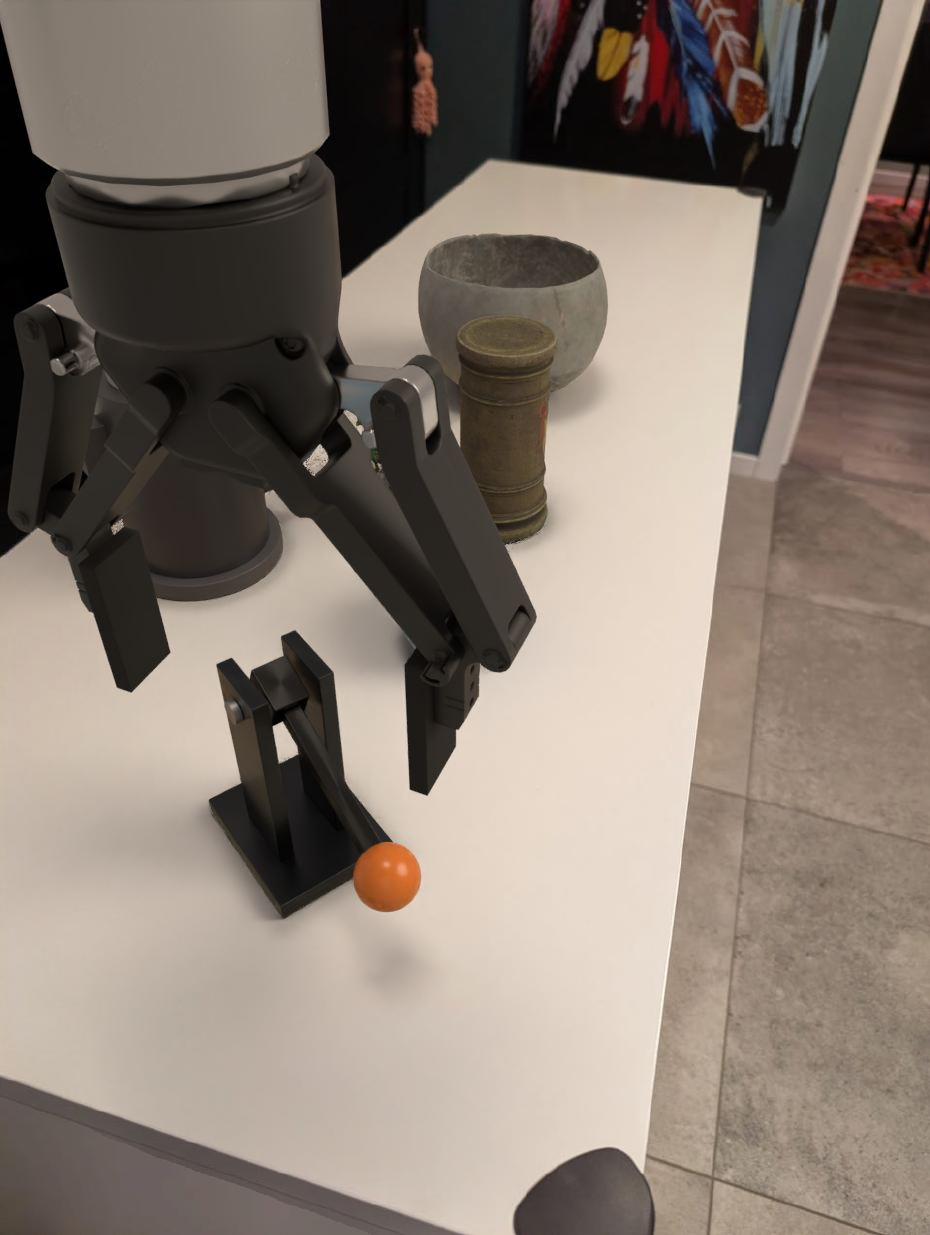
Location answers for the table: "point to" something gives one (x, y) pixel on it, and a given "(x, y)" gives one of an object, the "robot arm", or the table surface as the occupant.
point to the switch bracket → (285, 789)
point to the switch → (340, 795)
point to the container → (507, 416)
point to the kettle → (192, 520)
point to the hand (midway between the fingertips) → (281, 717)
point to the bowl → (514, 295)
